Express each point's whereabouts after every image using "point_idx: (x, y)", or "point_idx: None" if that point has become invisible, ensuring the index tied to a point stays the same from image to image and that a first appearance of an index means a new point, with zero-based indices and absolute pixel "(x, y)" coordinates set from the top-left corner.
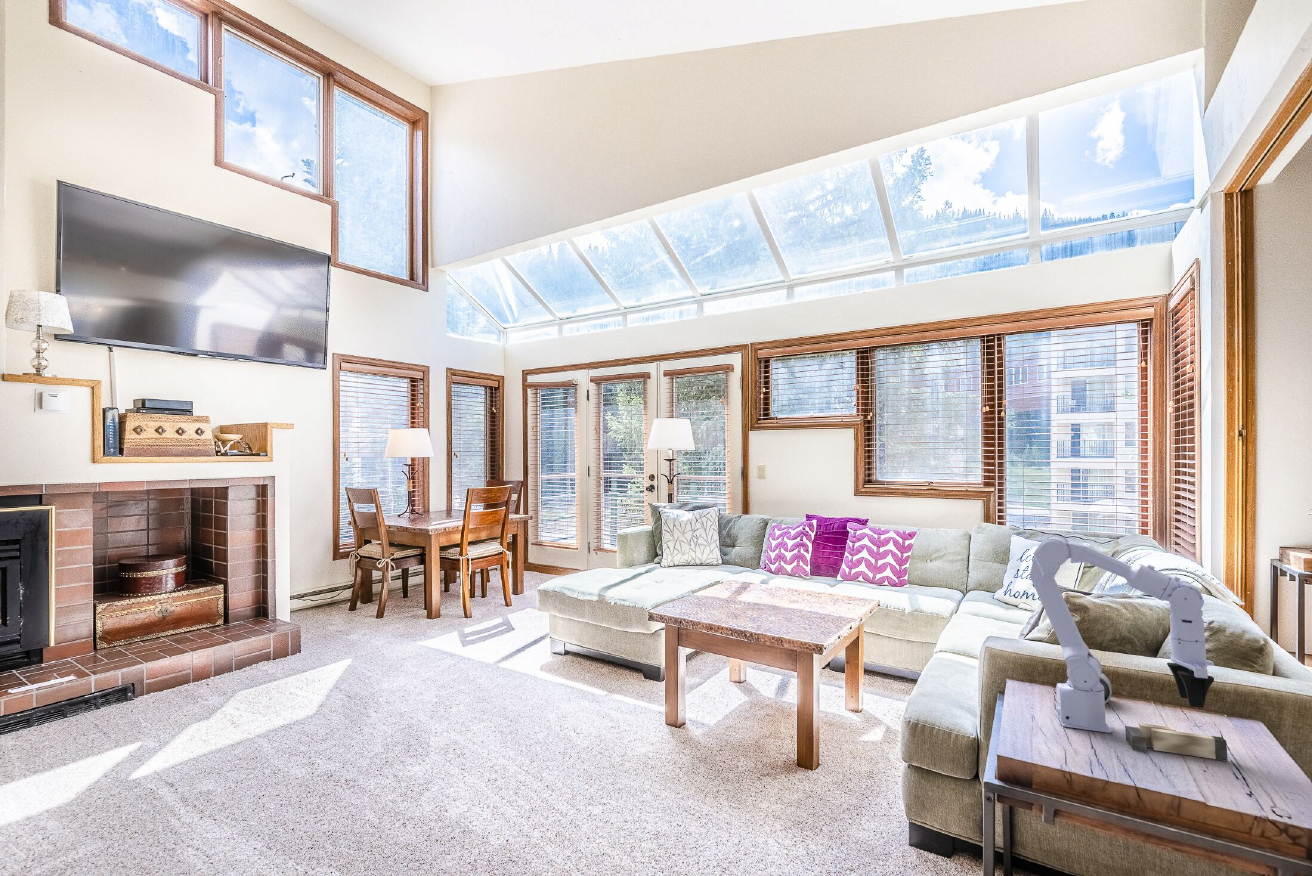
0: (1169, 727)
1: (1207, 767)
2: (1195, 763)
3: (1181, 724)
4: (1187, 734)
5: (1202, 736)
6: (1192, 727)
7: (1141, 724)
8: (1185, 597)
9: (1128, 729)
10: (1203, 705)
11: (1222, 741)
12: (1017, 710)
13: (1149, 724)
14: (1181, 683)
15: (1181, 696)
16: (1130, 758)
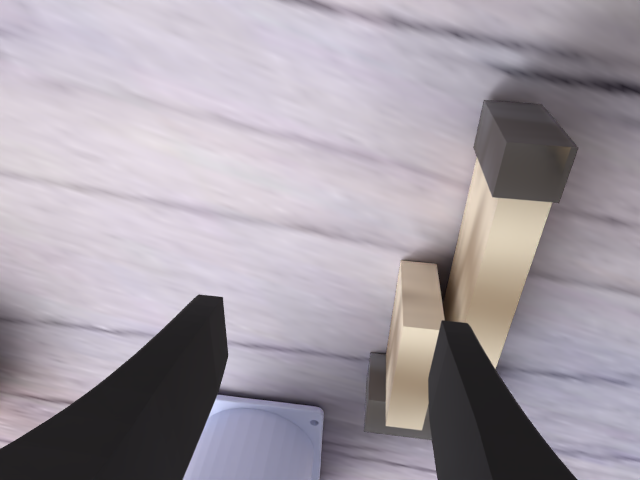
0: (406, 341)
1: (616, 219)
2: (574, 248)
3: (11, 108)
4: (502, 306)
5: (518, 248)
6: (24, 67)
7: (405, 425)
8: None
9: (406, 434)
10: (474, 337)
11: (570, 165)
12: None
13: (392, 399)
14: (181, 457)
15: (223, 362)
16: (560, 424)
